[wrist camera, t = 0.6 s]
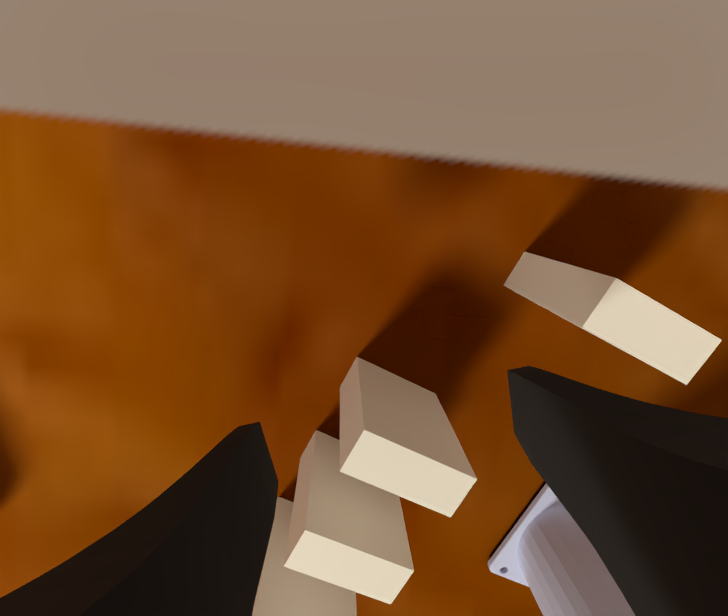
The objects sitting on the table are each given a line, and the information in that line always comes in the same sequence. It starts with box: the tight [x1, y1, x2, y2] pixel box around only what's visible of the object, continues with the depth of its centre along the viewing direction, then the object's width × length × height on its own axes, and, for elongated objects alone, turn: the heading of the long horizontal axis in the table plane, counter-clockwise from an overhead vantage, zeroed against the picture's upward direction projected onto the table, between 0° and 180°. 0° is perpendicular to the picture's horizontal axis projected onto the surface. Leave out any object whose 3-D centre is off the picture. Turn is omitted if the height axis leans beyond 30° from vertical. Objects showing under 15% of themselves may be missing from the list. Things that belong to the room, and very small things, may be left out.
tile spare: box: [503, 252, 722, 385], centre depth 17 cm, size 5×2×7 cm, turn 62°
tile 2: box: [252, 497, 356, 616], centre depth 21 cm, size 5×2×7 cm, turn 62°
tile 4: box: [339, 357, 477, 517], centre depth 18 cm, size 5×2×7 cm, turn 62°
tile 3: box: [284, 430, 414, 604], centre depth 19 cm, size 5×2×7 cm, turn 62°
